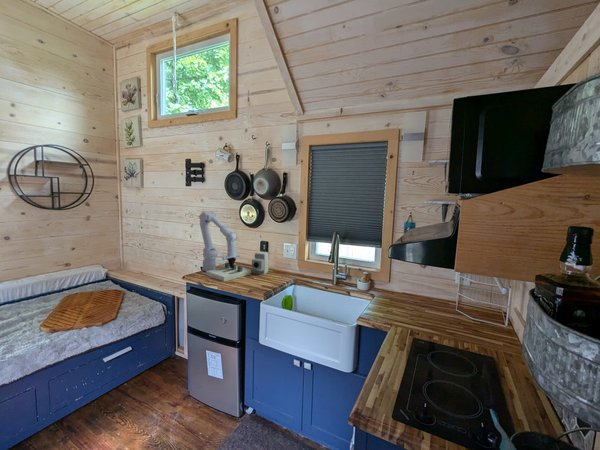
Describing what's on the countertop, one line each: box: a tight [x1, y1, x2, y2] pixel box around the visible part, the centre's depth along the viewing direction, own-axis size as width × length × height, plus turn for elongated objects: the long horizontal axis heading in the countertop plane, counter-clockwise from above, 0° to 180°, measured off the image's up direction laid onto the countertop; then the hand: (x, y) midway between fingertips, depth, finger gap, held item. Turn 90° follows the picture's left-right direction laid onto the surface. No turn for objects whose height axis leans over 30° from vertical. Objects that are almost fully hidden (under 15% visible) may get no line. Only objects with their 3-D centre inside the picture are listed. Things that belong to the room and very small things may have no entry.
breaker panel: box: [205, 261, 252, 282], centre depth 205 cm, size 20×24×7 cm
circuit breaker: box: [251, 250, 270, 275], centre depth 210 cm, size 8×14×15 cm, turn 163°
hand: (231, 268), depth 207 cm, fingers closed
